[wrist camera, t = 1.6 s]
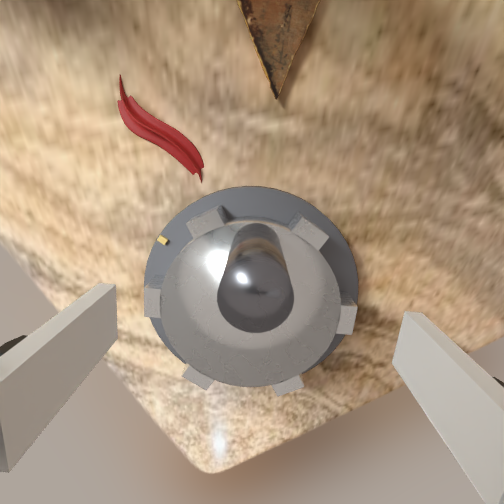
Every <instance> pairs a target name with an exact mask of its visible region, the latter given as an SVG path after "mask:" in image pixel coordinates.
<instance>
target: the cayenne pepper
mask: <svg viewBox="0 0 504 504" xmlns="http://www.w3.org/2000/svg"><path fill="white" fill-rule="evenodd" d="M120 95H121V99H122V100H121V101H120V100H118V107H119V111H120V114H121V117H122V119H123V121H124V123H125V125H126V126H127V127H128V128H129V129H130V130H131V131H132V132H133V133H135V134H136V135H138V136H140V137H142V138H144V139H146V140H148V141H151V142H153V143H155V144H156V145H158V146H160V147H161V148H163V149H164V150H165V151H167V152H168V153H169V154H171V155H172V156H173V157H175V158H176V159H177V160H178V161H179V162H180V163H181V164H182V165H183V166H184V167H185V168H187V169H188V170H189V171H190V172H191V173H192V174H193V175H194V174H195V173H198V174H199V177H200V180H201V183H202V179H201V168H204V164H203V161H202V158H201V156H200V154H199V152H198V151H197V149H196V148H195V146H194V145H193V144H192V143H191V142H190V141H189V140H188V139H187V138H186V137H185V136H184V135H183V134H181V133H180V132H179V131H177V130H176V129H174V128H173V127H171V126H169V125H167V124H166V123H164V122H162V121H160V120H158V119H157V118H155V117H153V116H152V115H150V114H149V113H148V112H146V111H145V110H144V109H142V108H141V107H140V106H139V105H138V104H137V103H136V101H135V100H134V99H133V97H132V96H129V98H128V97H127V96H126V95H125V92H124V90H123V86H122V81H121V75H120Z"/></svg>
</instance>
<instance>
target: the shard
mask: <svg viewBox="0 0 504 504" xmlns="http://www.w3.org/2000/svg"><path fill="white" fill-rule="evenodd" d="M237 2H238V6H239V8H240V10H241V13H242V14H243V16H244V19H245V22H246V25H247V28H248V30H249V33H250V38H251V40H252V41H253V44H254V47H255V50H256V52H257V55H258V57H259V59H260V62H261V65H262V68H263V70H264V73H265V75H266V77H267V79H268V80H269V82H270V88H271V90H272V92H273V95H274V97H275V99H277V98H278V95H279V94H280V92H281V88H282V86H283V84H284V81H285V79H286V77H287V73H288V70H289V67H290V65H291V63H292V61H293V58H294V56H295V54H296V51H297V49H298V48H299V46H300V44H301V43H302V41H303V38H304V36H305V34H306V31H307V28H308V26H309V25H310V23H311V21H312V19H313V16H314V14H315V11H316V8H317V6H318V4H319V2H320V0H237Z"/></svg>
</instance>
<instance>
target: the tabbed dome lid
mask: <svg viewBox="0 0 504 504" xmlns="http://www.w3.org/2000/svg"><path fill="white" fill-rule="evenodd" d="M186 225H187V227H188V229H189V231H190V233H191V235H192V236H193V238H192V239H191V240H190V241H189V242H188V243H187V244H186V246H185V247H184V248H183V249H182V250H181V252H180V253H179V254H178V255H177V257H176V258H175V259H174V261H173V262H172V264H171V265H170V267H169V269H168V271H167V273H166V275H165V276H156V275H155V276H154V277H153V278H152V279H151V281H150V282H149V283H148V284H147V285H146V286H145V287H144V317H154V318H161V320H162V325H163V328H164V330H165V333H166V335H167V337H168V339H169V341H170V343H171V345H172V346H173V348H174V349H175V350H176V352H177V353H178V354H179V355H180V356H181V358H182V359H183V360H184V361H185V362H186V365H185V368H184V370H183V373H182V377H184V378H186V379H187V380H189V381H191V382H192V383H194V384H196V385H198V386H199V387H201V388H203V389H205V390H207V389H208V388H209V386H210V385H211V384H212V383H213V381H214V380H216V381H219V382H221V383H225V384H229V385H234V386H241V387H261V386H268V385H272V387H273V389H274V391H275V393H276V395H277V396H281V395H283V394H286V393H289V392H292V391H294V390H297V389H300V388H303V387H304V382H303V377H302V372H304V371H306V370H307V369H308V368H310V367H311V366H312V365H313V364H314V363H315V362H316V361H318V360H319V359H320V358H321V356H322V355H323V354H324V353H325V351H326V350H327V349H328V347H329V345H330V344H331V342H332V340H333V338H334V336H335V334H347V335H352V332H353V327H354V323H355V318H356V313H357V308H358V306H357V305H356V304H355V302H354V301H353V299H352V298H351V296H350V295H349V293H346V292H339V287H338V284H337V281H336V278H335V275H334V273H333V271H332V269H331V267H330V266H329V264H328V263H327V261H326V260H325V258H324V257H323V255H322V254H321V252H320V251H319V249H320V248H321V247H322V246H323V244H324V243H325V242H326V241H327V239H328V238H329V236H328V235H327V234H326V233H325V232H324V230H323V229H321V228H320V227H319V226H317V225H316V224H315V223H313V222H312V221H310V220H309V219H308V218H306V217H305V216H303V215H302V214H301V213H299V212H297V213H296V214H295V216H294V217H293V218H292V220H291V221H290V222H289V224H288V225H287V224H285V223H283V222H280V221H277V220H274V219H270V218H264V217H256V216H244V217H235V218H231V219H228V218H227V216H226V214H225V212H224V210H223V208H222V206H221V204H220V205H218V206H216V207H214V208H212V209H209V210H207V211H205V212H203V213H201V214H199V215H197V216H195V217H193V218H192V219H191V220H189V221H188V222H187V223H186Z"/></svg>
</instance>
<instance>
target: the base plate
mask: <svg viewBox="0 0 504 504" xmlns="http://www.w3.org/2000/svg"><path fill="white" fill-rule="evenodd" d="M220 204H221V206H222V208H223V210H224V212H225V214H226V216H227V218H228V219H231V218H235V217H244V216H256V217H264V218H270V219H274V220H277V221H280V222H283V223H285V224H287V225H288V224H289V222H290V221H291V220H292V218H293V217H294V216H295V214H296V213H297V212H299V213H301V214H302V215H303V216H305V217H306V218H308V219H309V220H310V221H312V222H313V223H315V224H316V225H317V226H319V227H320V228H321V229H323V230H324V232H325V233H326V234H327V235H328V236H329V238H328V239H327V241H326V242H325V243H324V244H323V246H322V247H321V248H320V249H319V251H320V252H321V254H322V255H323V257H324V258H325V260H326V261H327V263H328V264H329V266H330V267H331V269H332V271H333V273H334V275H335V278H336V281H337V284H338V287H339V292H346V293H349V295H350V296H351V298H352V299H353V301H354V302H355V304H356V305H357V299H358V276H357V269H356V265H355V262H354V258H353V255H352V253H351V251H350V248H349V246H348V244H347V242H346V240H345V239H344V237H343V236H342V234H341V233H340V231H339V230H338V229H337V228H336V227H335V225H334V224H333V223H332V222H331V221H330V220H329V219H328V218H327V217H326V216H325V215H323V214H322V213H321V212H320V211H319V210H318V209H316V208H315V207H314V206H312V205H311V204H309V203H308V202H306V201H305V200H303V199H301V198H299V197H297V196H295V195H292V194H290V193H288V192H284V191H281V190H278V189H274V188H267V187H261V186H242V187H233V188H228V189H224V190H220V191H217V192H214V193H212V194H209V195H207V196H205V197H203V198H201V199H199V200H197V201H196V202H194V203H192V204H191V205H189V206H188V207H187V208H185V209H184V210H183V211H181V212H180V213H179V214H177V215H176V216H175V217H174V218H173V219H172V220H171V221H170V222H169V223H168V224H167V225H166V227H165V228H164V230H163V231H162V232H161V234H160V235H159V236H158V238H157V240H156V242H155V244H154V246H153V248H152V250H151V253H150V255H149V258H148V261H147V266H146V270H145V279H144V287H145V286H146V285H147V284H148V283H149V282H150V281H151V279H152V278H153V277H154V276H155V275H156V276H165V275H166V273H167V271H168V269H169V267H170V265H171V264H172V262H173V261H174V259H175V258H176V257H177V255H178V254H179V253H180V252H181V250H182V249H183V248H184V247H185V246H186V244H187V243H188V242H189V241H190V240H191V239H192V238H193V236H192V235H191V233H190V231H189V229H188V227H187V225H186V223H187V222H188V221H189V220H191V219H192V218H193V217H195V216H197V215H199V214H201V213H203V212H205V211H207V210H209V209H212V208H214V207H216V206H218V205H220ZM150 319H151V322H152V324H153V326H154V328H155V330H156V332H157V334H158V335H159V337H160V338H161V340H162V341H163V342H164V344H165V345H166V346H167V347H168V349H169V350H170V351H171V352H172V353H173V354H174V355H175V356H176V357H177V358H179V359H180V360H181V361H182V362H183V363H185V364H186V362H185V361H184V360H183V359H182V358H181V356H180V355H179V354H178V353H177V352H176V350H175V349H174V348H173V346H172V345H171V343H170V341H169V339H168V337H167V335H166V333H165V330H164V328H163V325H162V320H161V318H154V317H150ZM344 336H345V334H335V336H334V338H333V340H332V342H331V344H330V345H329V347H328V349H327V350H326V351H325V353H324V354H323V355H322V356H321V358H320V359H319V360H318V361H316V362H315V363H314V364H313V365H312V366H311V367H310V368H308V369H307V370H306V371H304V372H302V374H303V373H305V372H307V371H308V370H310V369H312V368H313V367H315V366H316V365H318V364H319V363H320V362H322V361H323V360H324V359H325V358H326V357H327V356H328V355H329V354H331V353H332V352H333V351H334V349H335V348H336V347H337V346H338V344H339V343H340V342H341V341H342V339H343V337H344Z"/></svg>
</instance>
